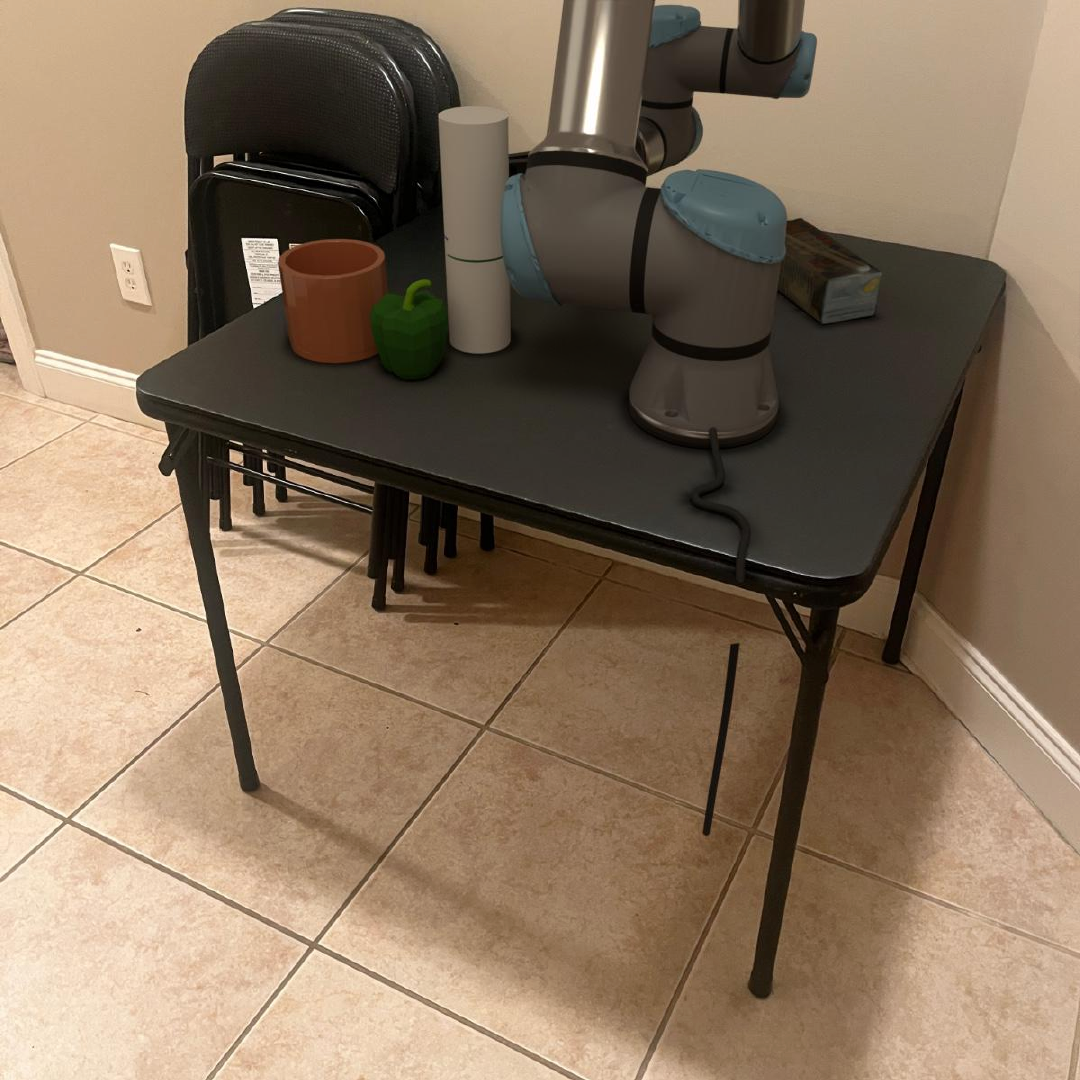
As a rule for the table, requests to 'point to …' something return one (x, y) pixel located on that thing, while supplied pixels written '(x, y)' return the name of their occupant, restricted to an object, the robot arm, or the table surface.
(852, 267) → the beverage carton
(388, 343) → the bell pepper
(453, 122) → the cylindrical container
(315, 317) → the crock
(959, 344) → the table surface
